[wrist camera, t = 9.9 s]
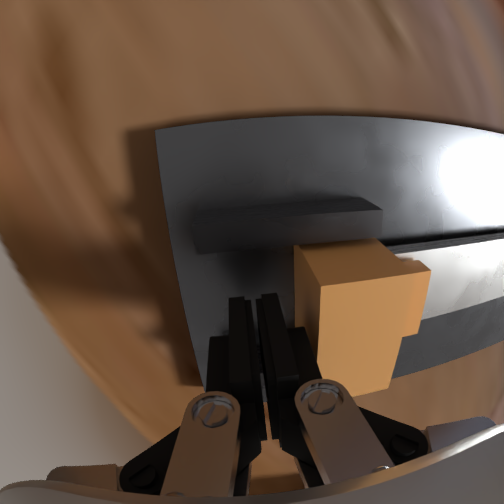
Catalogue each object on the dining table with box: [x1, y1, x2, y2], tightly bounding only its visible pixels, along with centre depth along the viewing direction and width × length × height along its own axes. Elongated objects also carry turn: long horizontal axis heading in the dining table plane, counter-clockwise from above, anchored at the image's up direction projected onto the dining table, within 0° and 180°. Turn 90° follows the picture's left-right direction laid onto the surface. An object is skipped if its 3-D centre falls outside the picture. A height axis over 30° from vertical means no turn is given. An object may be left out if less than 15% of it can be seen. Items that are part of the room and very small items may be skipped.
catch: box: [294, 238, 431, 397], centre depth 11 cm, size 5×5×4 cm
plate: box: [155, 116, 504, 402], centre depth 13 cm, size 14×24×4 cm, turn 94°
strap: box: [386, 232, 504, 320], centre depth 12 cm, size 4×14×1 cm, turn 94°
